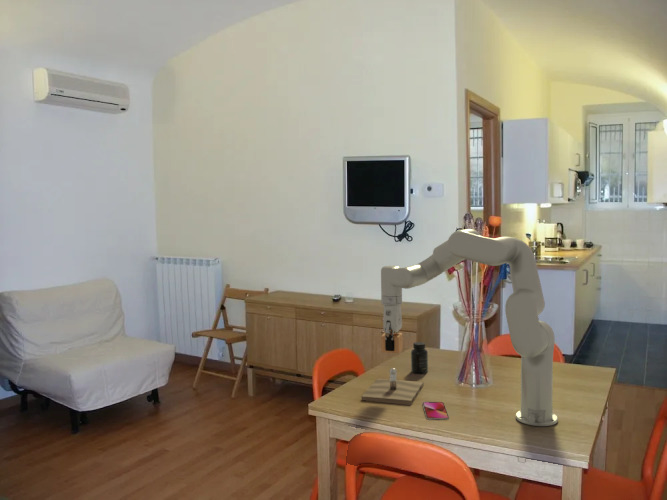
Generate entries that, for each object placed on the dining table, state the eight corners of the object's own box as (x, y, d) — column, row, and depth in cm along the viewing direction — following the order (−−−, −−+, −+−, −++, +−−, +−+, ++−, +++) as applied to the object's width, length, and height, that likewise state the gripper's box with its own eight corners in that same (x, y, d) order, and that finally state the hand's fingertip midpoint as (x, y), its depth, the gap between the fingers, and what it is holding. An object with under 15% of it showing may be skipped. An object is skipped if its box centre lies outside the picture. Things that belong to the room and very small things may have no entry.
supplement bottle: (408, 370, 246) (407, 342, 245) (422, 368, 248) (421, 340, 248) (417, 375, 239) (416, 346, 238) (431, 372, 242) (430, 343, 241)
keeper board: (411, 404, 205) (411, 400, 205) (361, 400, 211) (361, 396, 211) (423, 385, 225) (423, 381, 225) (377, 382, 231) (377, 378, 231)
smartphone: (426, 418, 191) (422, 401, 206) (426, 421, 191) (422, 404, 206) (449, 418, 190) (443, 401, 205) (449, 421, 190) (443, 404, 205)
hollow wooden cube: (398, 353, 213) (398, 336, 212) (381, 352, 215) (381, 335, 214) (402, 349, 219) (402, 333, 218) (385, 347, 221) (385, 332, 220)
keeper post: (396, 390, 216) (395, 369, 216) (389, 389, 217) (388, 368, 217) (397, 388, 219) (397, 367, 218) (390, 387, 220) (390, 366, 219)
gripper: (396, 304, 206) (396, 355, 207) (406, 296, 222) (407, 343, 224) (375, 303, 208) (376, 353, 210) (387, 295, 225) (388, 342, 226)
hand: (392, 347), depth 217 cm, fingers closed on hollow wooden cube, 6 cm apart
